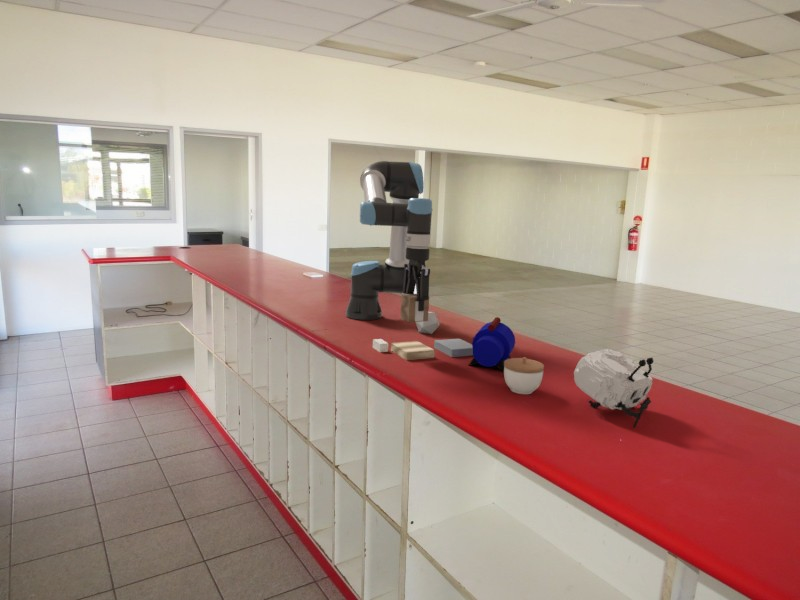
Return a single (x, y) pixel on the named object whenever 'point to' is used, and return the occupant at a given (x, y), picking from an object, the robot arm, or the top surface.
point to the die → (428, 324)
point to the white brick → (380, 345)
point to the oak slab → (412, 350)
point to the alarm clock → (493, 344)
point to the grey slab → (454, 347)
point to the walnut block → (412, 308)
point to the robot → (614, 381)
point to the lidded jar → (523, 374)
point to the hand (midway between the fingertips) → (414, 318)
